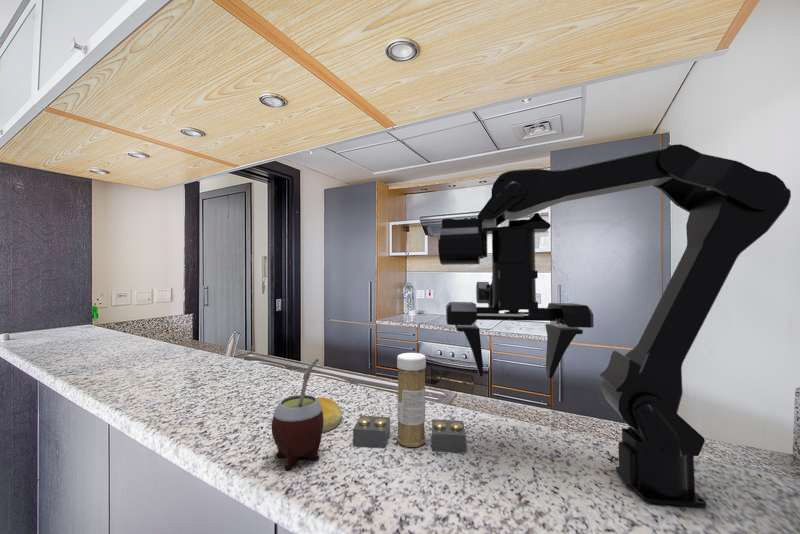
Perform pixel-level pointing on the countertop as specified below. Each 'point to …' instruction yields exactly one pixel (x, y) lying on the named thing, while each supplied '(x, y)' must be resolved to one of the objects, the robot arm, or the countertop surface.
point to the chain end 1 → (371, 431)
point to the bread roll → (330, 413)
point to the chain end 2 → (448, 436)
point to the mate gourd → (298, 426)
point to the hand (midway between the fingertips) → (514, 376)
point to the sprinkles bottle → (411, 399)
